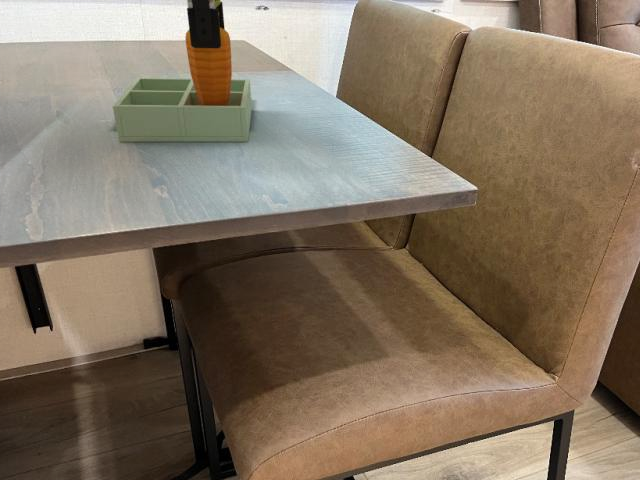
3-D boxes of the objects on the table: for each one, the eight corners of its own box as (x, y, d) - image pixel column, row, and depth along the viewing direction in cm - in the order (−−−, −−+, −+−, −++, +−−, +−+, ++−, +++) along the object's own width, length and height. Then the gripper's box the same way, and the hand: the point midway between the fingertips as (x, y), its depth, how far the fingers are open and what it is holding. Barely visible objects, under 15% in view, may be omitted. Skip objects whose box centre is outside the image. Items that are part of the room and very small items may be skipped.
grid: (119, 141, 74) (112, 106, 72) (141, 108, 86) (136, 77, 84) (247, 141, 76) (245, 107, 74) (251, 109, 88) (249, 79, 86)
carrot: (194, 121, 80) (179, -12, 72) (235, 119, 81) (224, -11, 73) (196, 132, 75) (180, -7, 68) (239, 130, 77) (228, -6, 69)
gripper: (163, -145, 71) (184, 30, 80) (134, -160, 56) (164, 56, 65) (233, -140, 72) (245, 31, 81) (222, -153, 57) (238, 58, 67)
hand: (208, 41), depth 73 cm, fingers open, 5 cm apart
